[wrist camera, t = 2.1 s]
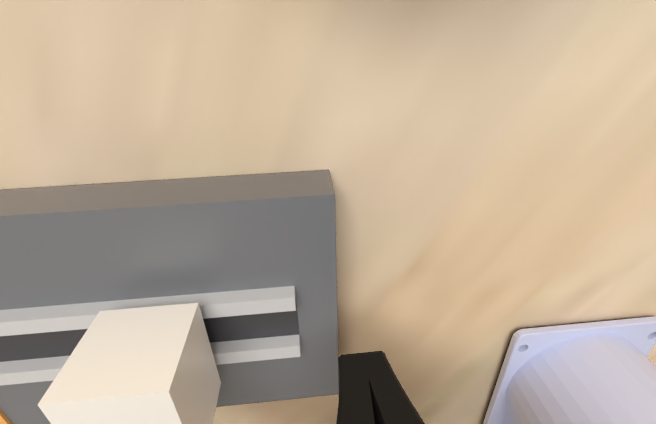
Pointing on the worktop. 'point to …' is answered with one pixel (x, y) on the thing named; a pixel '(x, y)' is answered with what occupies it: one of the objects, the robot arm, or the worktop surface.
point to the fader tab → (138, 370)
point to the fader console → (174, 277)
